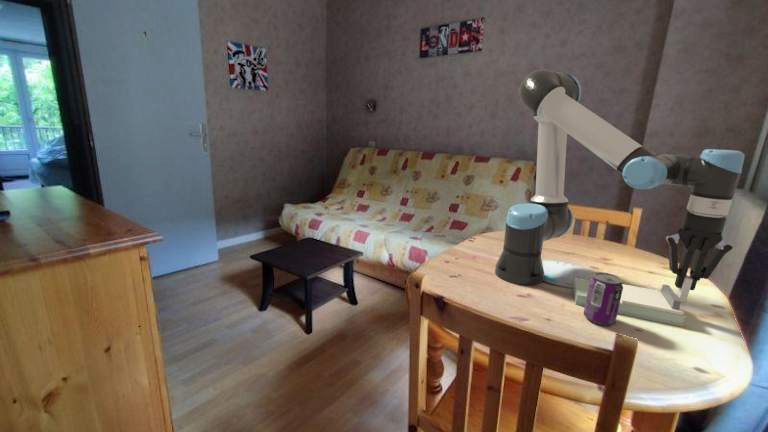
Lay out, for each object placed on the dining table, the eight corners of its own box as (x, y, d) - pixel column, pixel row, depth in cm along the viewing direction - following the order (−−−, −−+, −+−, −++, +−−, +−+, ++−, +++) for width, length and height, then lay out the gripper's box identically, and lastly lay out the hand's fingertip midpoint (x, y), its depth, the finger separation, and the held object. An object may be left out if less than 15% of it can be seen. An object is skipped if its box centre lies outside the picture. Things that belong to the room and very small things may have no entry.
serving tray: (575, 304, 96) (577, 294, 95) (572, 286, 107) (574, 277, 106) (682, 326, 87) (685, 316, 86) (668, 304, 97) (670, 295, 96)
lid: (621, 303, 91) (624, 292, 90) (614, 285, 101) (616, 275, 101) (682, 315, 86) (686, 303, 85) (668, 295, 96) (671, 284, 95)
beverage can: (619, 329, 85) (630, 285, 82) (588, 325, 86) (597, 282, 83) (607, 314, 92) (617, 272, 88) (579, 310, 93) (587, 270, 90)
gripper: (678, 213, 83) (654, 300, 90) (749, 221, 78) (718, 312, 85) (668, 206, 90) (647, 287, 96) (733, 213, 85) (706, 298, 91)
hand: (680, 299), depth 91 cm, fingers closed
